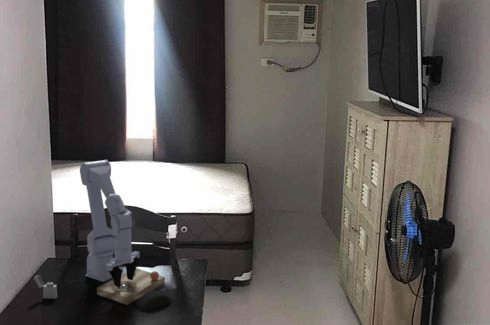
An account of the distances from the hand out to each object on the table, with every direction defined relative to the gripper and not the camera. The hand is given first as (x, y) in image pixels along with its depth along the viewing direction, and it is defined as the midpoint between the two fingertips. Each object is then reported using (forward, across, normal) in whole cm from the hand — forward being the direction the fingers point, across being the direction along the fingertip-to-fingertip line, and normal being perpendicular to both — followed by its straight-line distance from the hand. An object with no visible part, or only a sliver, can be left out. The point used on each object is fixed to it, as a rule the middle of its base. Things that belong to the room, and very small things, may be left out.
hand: (123, 282), depth 185 cm
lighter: (+4, -17, +20) cm, 27 cm away
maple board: (+4, +4, 0) cm, 6 cm away
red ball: (0, +10, -6) cm, 11 cm away
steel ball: (+2, 0, 0) cm, 2 cm away
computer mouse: (+4, 0, -14) cm, 14 cm away
